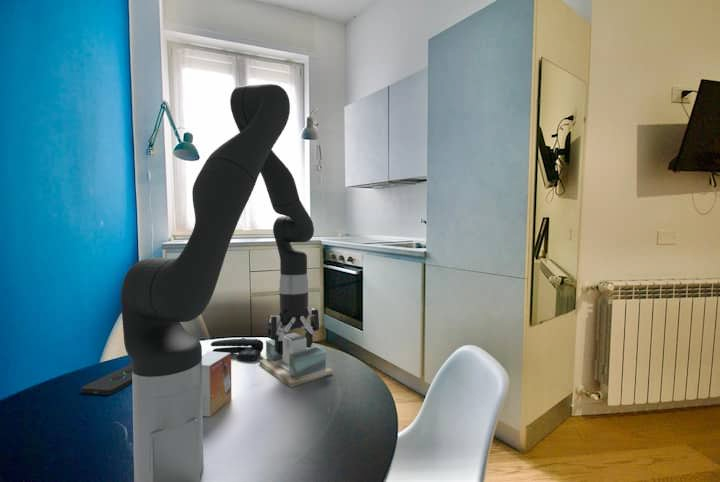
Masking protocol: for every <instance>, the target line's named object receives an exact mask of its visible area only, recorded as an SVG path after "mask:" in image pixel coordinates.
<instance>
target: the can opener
mask: <svg viewBox="0 0 720 482" xmlns="http://www.w3.org/2000/svg"><path fill="white" fill-rule="evenodd" d="M210 347H217V348H213V349H212V351H214V352H227V353H231V355H233V354H237V355H236V360H239V361H243V362H244V361H245V362H248V361H254V360H257V359H258V358H259V357H260V356H261V353H262V352H263V350H264V342H263V341H262V340H261V339H259V338H254V339H253V338H250V339H249V338H245V337H242V338H232V339H231V338H230V339H229V338H228V339H222V340H221V339H220V340H215V341H212V342H211V343H210Z"/></svg>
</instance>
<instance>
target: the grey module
mask: <svg viewBox="0 0 720 482" xmlns="http://www.w3.org/2000/svg"><path fill="white" fill-rule="evenodd" d="M282 341H283V354H282V361H283V362H284V363H286V364H288V365H289V354H292V353H296V352H300V351H304V350H307V347H306V338H305V336H303V335H301V334H298V333H297V332H292V333H287V334H285V336H284V337H283V339H282Z"/></svg>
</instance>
